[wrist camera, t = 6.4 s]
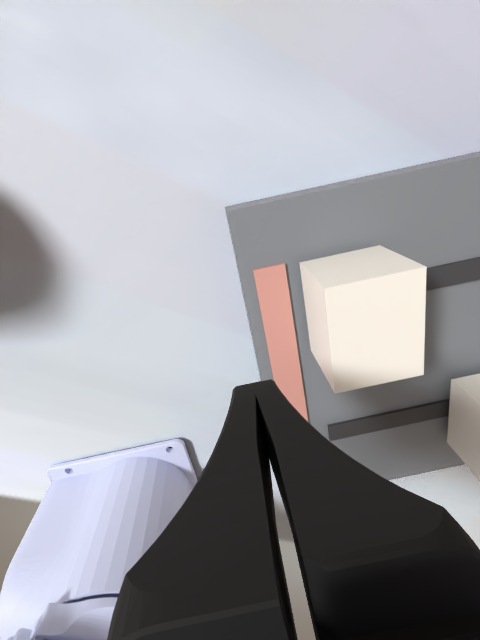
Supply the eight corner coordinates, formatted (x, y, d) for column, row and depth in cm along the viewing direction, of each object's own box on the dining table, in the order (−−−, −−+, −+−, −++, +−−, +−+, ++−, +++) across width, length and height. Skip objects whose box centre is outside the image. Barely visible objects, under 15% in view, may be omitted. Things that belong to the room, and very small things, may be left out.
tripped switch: (310, 350, 19) (334, 393, 15) (299, 262, 17) (323, 288, 13) (382, 334, 19) (423, 374, 15) (379, 245, 17) (426, 266, 13)
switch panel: (281, 478, 26) (287, 504, 24) (224, 207, 18) (226, 211, 16) (515, 428, 26) (541, 450, 24) (566, 132, 18) (611, 128, 16)
